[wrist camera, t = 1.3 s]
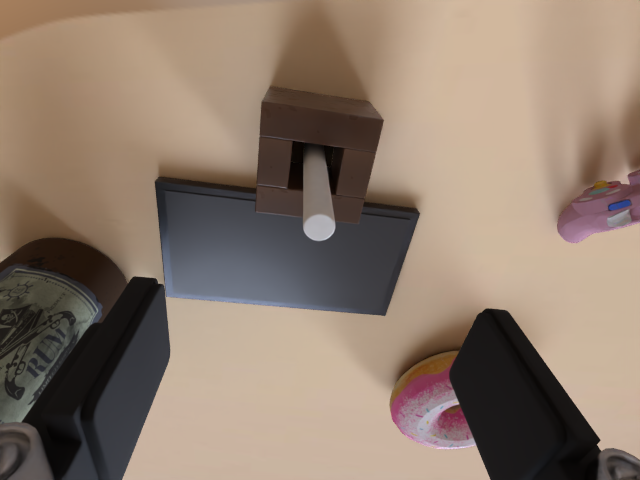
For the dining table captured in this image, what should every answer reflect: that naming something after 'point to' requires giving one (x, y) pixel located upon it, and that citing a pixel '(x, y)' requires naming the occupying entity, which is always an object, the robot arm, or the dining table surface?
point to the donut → (430, 405)
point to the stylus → (316, 194)
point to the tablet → (276, 251)
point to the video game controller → (601, 209)
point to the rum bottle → (48, 314)
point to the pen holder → (318, 128)
